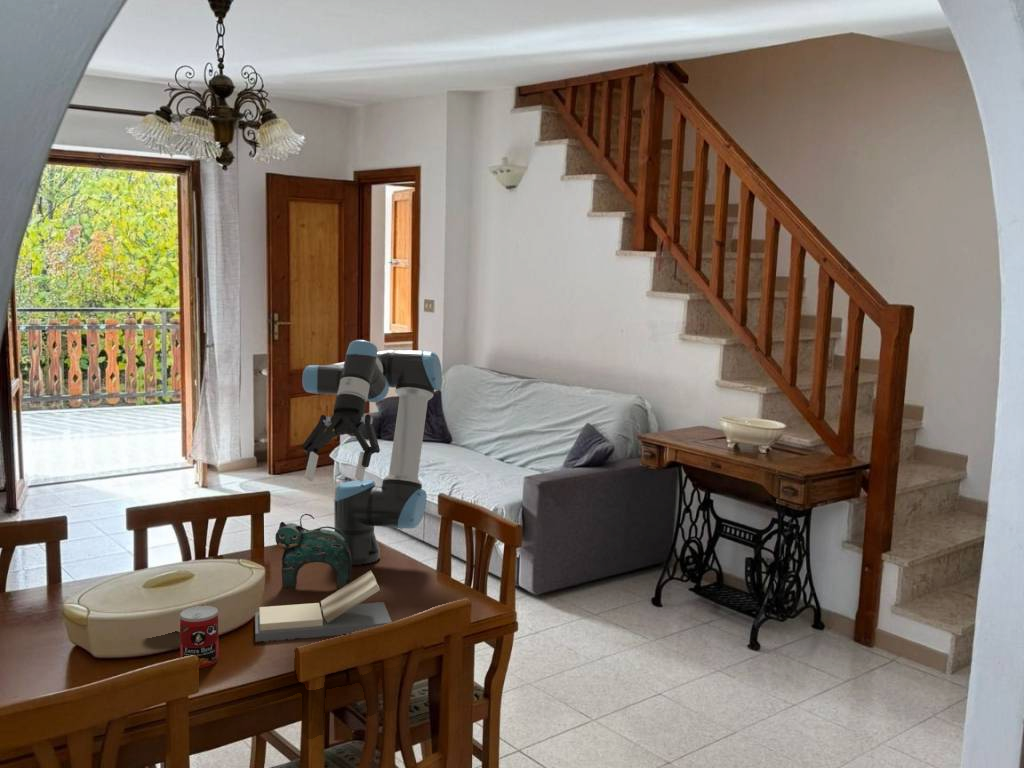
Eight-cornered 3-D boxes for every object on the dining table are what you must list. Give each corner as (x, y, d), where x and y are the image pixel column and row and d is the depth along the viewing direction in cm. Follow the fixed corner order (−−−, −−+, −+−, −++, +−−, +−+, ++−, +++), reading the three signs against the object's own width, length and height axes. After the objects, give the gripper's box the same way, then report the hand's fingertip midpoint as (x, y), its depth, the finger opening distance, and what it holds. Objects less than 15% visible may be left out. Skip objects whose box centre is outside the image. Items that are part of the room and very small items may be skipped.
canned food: (179, 671, 185) (178, 620, 184) (182, 655, 193) (181, 606, 192) (217, 667, 187) (217, 617, 186) (219, 652, 195) (218, 604, 194)
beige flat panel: (323, 606, 217) (320, 601, 217) (373, 575, 220) (370, 570, 219) (327, 622, 207) (324, 617, 206) (380, 590, 209) (376, 584, 209)
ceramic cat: (274, 589, 236) (274, 515, 234) (280, 581, 242) (279, 509, 240) (349, 590, 237) (350, 516, 235) (353, 582, 243) (353, 510, 241)
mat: (255, 619, 214) (255, 605, 214) (383, 609, 223) (383, 595, 223) (255, 642, 201) (255, 626, 201) (392, 630, 210) (392, 616, 209)
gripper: (300, 393, 221) (280, 473, 212) (390, 391, 213) (373, 473, 204) (315, 406, 228) (296, 484, 219) (403, 404, 219) (387, 485, 210)
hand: (333, 479), depth 211 cm, fingers open, 13 cm apart
